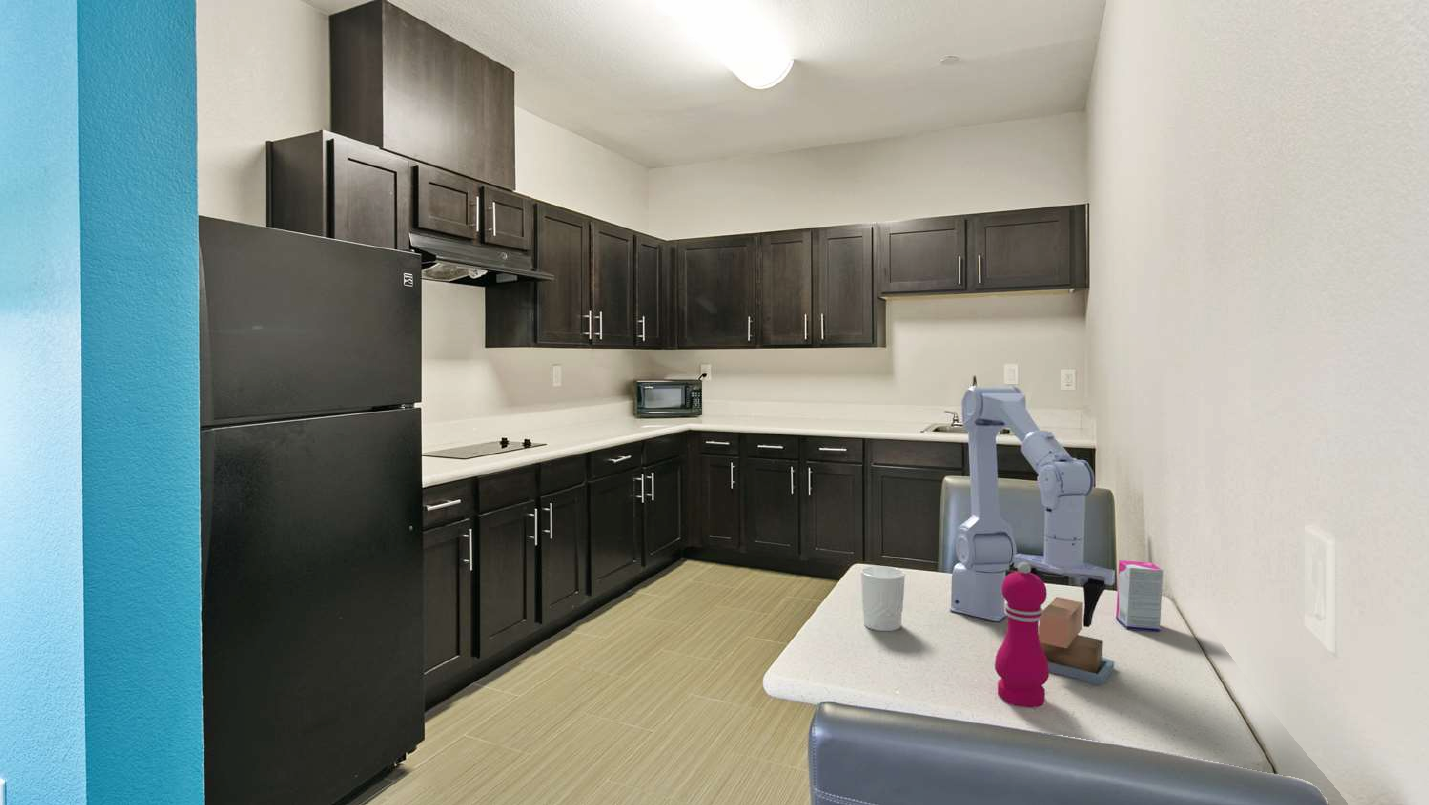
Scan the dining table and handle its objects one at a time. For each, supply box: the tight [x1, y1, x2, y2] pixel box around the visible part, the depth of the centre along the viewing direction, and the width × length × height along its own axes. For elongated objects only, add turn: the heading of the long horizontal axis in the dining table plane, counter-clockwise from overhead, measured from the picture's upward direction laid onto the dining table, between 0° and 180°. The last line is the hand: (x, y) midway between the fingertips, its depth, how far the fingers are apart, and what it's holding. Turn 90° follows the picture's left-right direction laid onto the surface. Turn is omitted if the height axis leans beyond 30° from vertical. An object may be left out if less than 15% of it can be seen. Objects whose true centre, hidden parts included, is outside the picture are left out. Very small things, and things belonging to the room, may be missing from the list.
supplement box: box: [1115, 559, 1164, 632], centre depth 133 cm, size 6×6×12 cm
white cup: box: [860, 565, 906, 632], centre depth 133 cm, size 8×8×10 cm
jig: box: [1047, 657, 1115, 686], centre depth 116 cm, size 15×14×1 cm
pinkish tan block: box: [1039, 597, 1084, 648], centre depth 115 cm, size 4×10×5 cm, turn 141°
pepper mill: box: [994, 562, 1050, 708], centre depth 104 cm, size 7×7×20 cm
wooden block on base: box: [1038, 625, 1104, 674], centre depth 116 cm, size 11×4×5 cm, turn 50°
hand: (1061, 619), depth 115 cm, fingers open, 7 cm apart
